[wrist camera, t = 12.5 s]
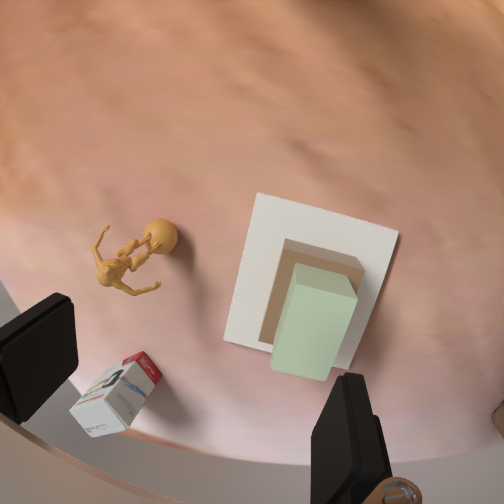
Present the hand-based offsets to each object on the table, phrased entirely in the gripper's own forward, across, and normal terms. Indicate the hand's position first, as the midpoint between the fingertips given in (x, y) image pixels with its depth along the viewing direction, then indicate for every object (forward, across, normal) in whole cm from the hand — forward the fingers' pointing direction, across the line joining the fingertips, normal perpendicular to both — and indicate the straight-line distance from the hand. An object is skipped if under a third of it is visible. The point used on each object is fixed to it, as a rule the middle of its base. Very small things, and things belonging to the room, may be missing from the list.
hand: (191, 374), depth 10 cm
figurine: (+27, +12, +5) cm, 30 cm away
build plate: (+27, -6, +6) cm, 28 cm away
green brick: (+21, -6, +6) cm, 22 cm away
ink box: (+26, +14, +26) cm, 39 cm away
